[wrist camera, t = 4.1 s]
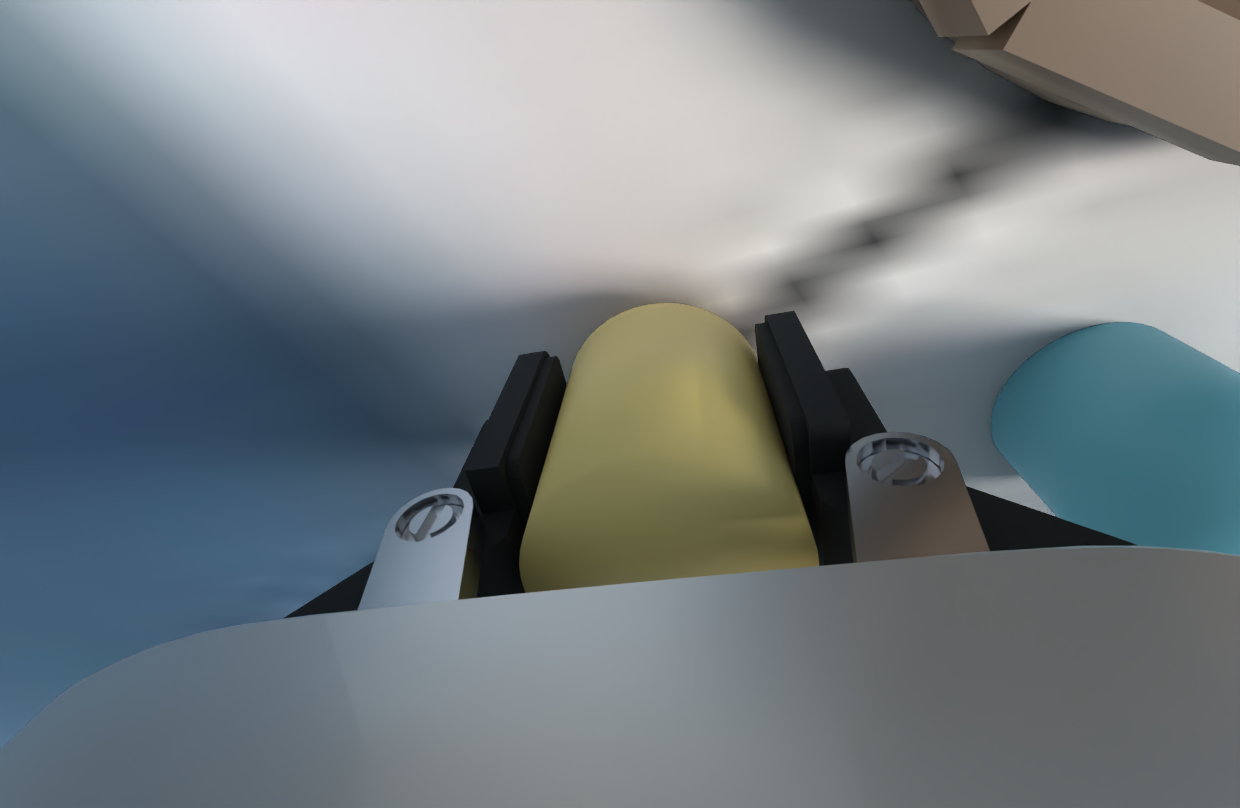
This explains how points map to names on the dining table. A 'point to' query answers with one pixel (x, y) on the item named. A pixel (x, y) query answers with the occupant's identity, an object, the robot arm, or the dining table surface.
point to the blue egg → (1128, 436)
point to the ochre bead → (664, 461)
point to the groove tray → (1114, 60)
